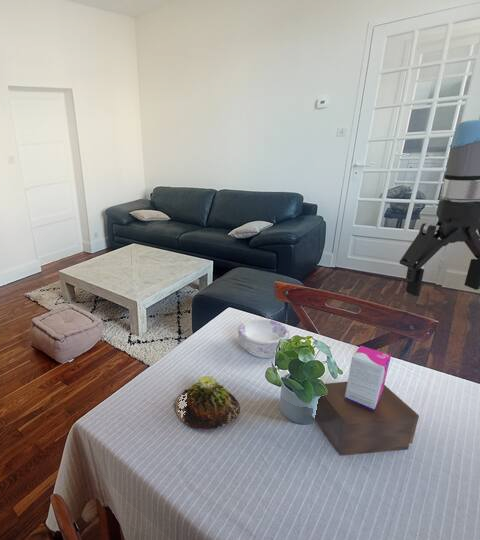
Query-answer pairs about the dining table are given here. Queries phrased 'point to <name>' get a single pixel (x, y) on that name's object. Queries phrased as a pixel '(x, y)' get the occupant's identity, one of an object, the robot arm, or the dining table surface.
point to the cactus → (208, 405)
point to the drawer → (415, 419)
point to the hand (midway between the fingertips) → (441, 290)
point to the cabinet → (364, 422)
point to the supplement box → (367, 377)
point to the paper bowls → (262, 336)
